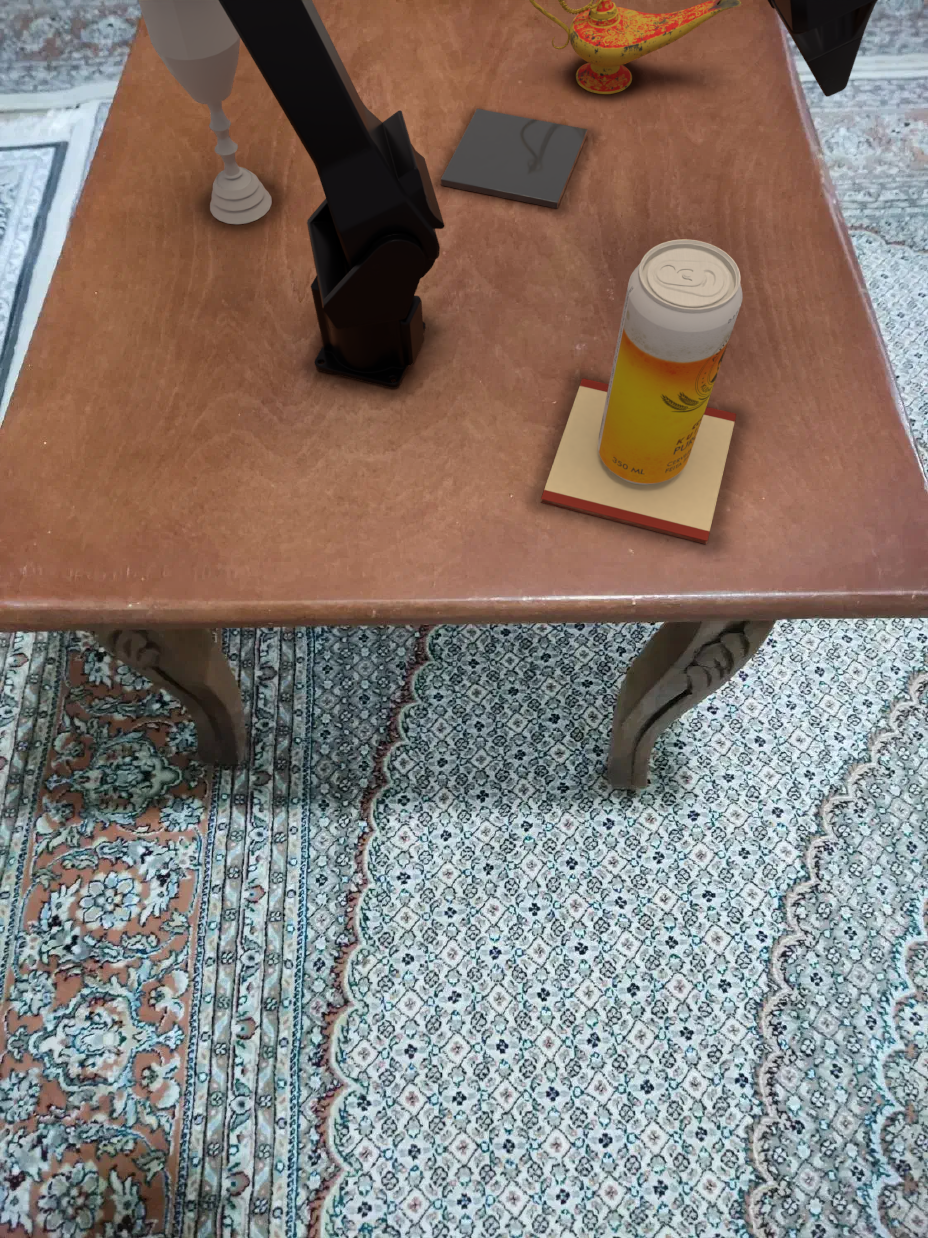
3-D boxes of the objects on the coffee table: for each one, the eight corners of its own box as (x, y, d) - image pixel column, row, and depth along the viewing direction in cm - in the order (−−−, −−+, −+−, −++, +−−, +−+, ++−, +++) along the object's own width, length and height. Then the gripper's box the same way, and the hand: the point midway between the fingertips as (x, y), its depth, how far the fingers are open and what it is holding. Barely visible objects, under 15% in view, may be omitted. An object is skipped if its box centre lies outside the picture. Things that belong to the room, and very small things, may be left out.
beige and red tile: (540, 502, 58) (541, 498, 58) (581, 381, 63) (582, 377, 63) (706, 544, 57) (707, 540, 56) (735, 417, 61) (736, 413, 61)
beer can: (683, 498, 58) (745, 322, 45) (590, 483, 58) (625, 305, 45) (690, 427, 61) (751, 241, 47) (602, 413, 61) (638, 227, 48)
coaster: (440, 185, 73) (440, 178, 73) (476, 114, 78) (476, 107, 77) (557, 208, 72) (557, 202, 71) (587, 135, 76) (587, 128, 76)
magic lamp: (723, 105, 78) (759, -35, 68) (520, 96, 79) (527, -43, 69) (719, 60, 81) (753, -80, 72) (524, 52, 82) (532, -87, 72)
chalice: (221, 244, 70) (147, -3, 54) (181, 199, 73) (100, -49, 57) (300, 207, 72) (251, -41, 56) (258, 165, 75) (200, -84, 59)
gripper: (1103, -344, 31) (1035, 69, 44) (897, -479, 40) (891, -105, 53) (781, -168, 34) (806, 169, 47) (658, -331, 43) (708, -11, 56)
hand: (806, 45), depth 50 cm, fingers open, 9 cm apart
